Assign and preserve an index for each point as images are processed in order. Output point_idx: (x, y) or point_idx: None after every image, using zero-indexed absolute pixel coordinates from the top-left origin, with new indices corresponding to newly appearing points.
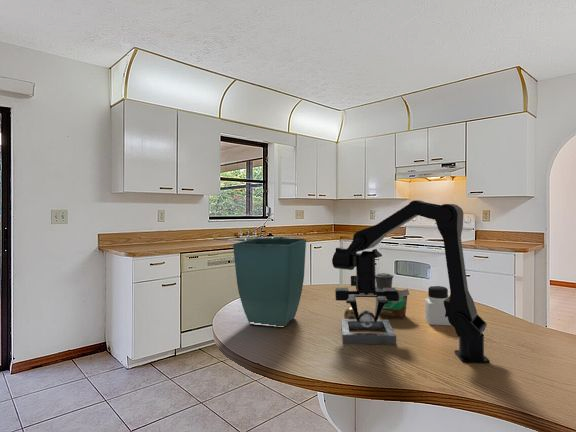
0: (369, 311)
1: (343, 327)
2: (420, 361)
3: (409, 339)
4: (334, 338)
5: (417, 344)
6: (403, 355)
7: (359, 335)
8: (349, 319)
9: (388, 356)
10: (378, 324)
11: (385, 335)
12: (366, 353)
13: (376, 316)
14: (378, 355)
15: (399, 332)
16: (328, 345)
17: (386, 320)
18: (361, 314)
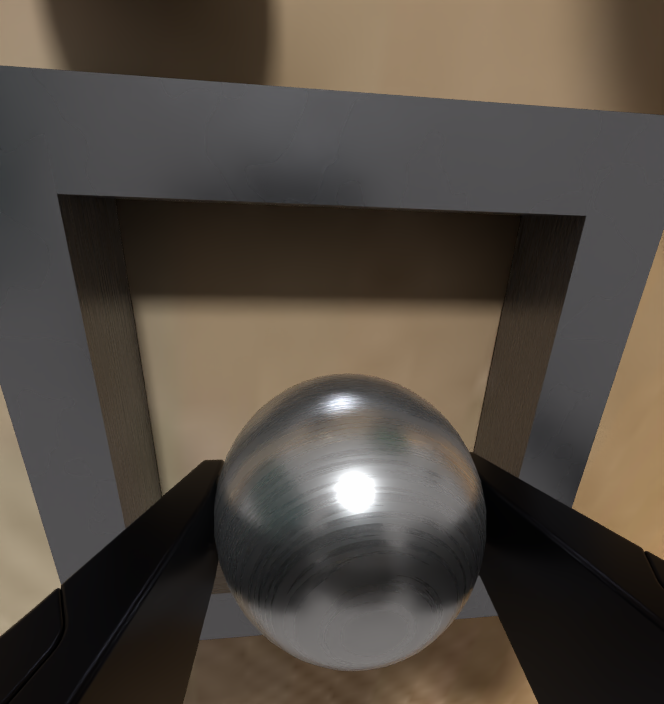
0: (430, 635)
1: (48, 475)
2: (533, 697)
3: (634, 453)
4: (21, 490)
5: (636, 528)
6: (482, 661)
7: (240, 635)
8: (76, 102)
9: (400, 681)
10: (509, 213)
11: (459, 614)
12: (284, 671)
13: (501, 599)
14: (349, 680)
15: (642, 303)
16: (10, 613)
17: (661, 161)
18: (259, 628)
